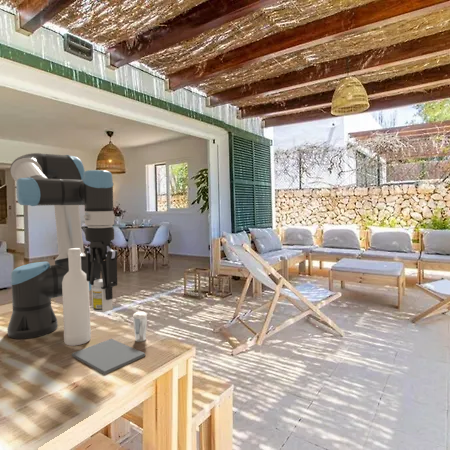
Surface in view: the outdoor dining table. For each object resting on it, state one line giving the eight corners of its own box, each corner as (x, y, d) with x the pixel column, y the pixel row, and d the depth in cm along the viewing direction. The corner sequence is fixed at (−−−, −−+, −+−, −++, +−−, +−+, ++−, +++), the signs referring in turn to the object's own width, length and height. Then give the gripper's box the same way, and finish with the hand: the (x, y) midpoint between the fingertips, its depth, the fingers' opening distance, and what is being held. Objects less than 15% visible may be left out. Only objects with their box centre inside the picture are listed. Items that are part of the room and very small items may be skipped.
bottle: (63, 347, 101) (59, 251, 99) (64, 338, 108) (60, 248, 106) (91, 343, 105) (88, 249, 103) (90, 334, 112) (87, 246, 110)
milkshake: (146, 343, 104) (145, 312, 103) (130, 342, 105) (129, 311, 105) (152, 337, 109) (151, 307, 108) (137, 336, 110) (136, 307, 109)
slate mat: (71, 356, 96) (71, 353, 96) (111, 341, 106) (111, 338, 106) (104, 374, 85) (104, 371, 85) (145, 355, 96) (145, 353, 96)
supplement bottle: (105, 305, 97) (105, 277, 96) (114, 309, 94) (113, 280, 93) (90, 309, 93) (89, 280, 93) (98, 313, 90) (97, 283, 90)
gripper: (71, 226, 95) (74, 305, 96) (104, 229, 83) (107, 319, 85) (95, 224, 100) (98, 299, 102) (130, 227, 89) (132, 311, 91)
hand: (102, 308), depth 93 cm, fingers closed on supplement bottle, 5 cm apart
